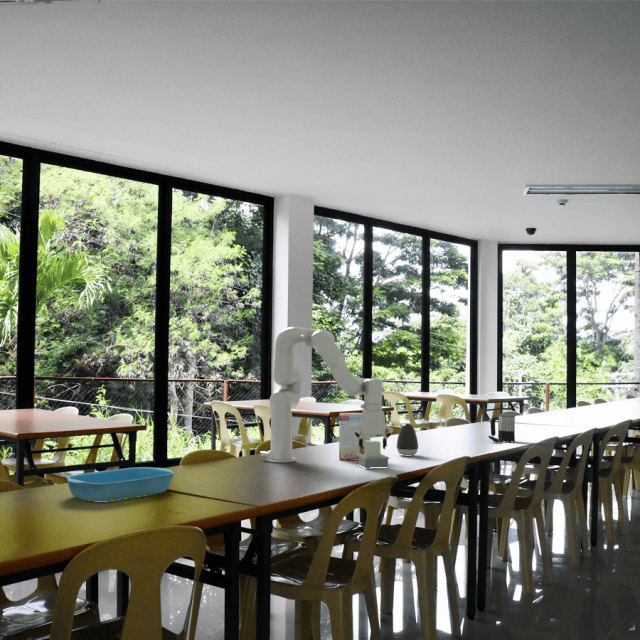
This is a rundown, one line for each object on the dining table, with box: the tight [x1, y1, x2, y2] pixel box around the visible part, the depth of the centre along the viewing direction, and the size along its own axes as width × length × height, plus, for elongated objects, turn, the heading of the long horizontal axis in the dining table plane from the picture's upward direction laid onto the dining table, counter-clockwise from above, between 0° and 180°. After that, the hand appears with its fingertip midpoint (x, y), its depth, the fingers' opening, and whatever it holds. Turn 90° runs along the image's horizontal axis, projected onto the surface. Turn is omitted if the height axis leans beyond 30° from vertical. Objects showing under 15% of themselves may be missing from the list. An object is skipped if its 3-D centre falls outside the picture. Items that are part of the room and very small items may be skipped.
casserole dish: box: [66, 466, 175, 502], centre depth 228 cm, size 37×22×7 cm, turn 140°
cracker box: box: [338, 412, 371, 460], centre depth 309 cm, size 14×6×21 cm, turn 84°
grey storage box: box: [357, 453, 390, 468], centre depth 289 cm, size 11×11×5 cm
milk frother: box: [487, 413, 516, 443], centre depth 378 cm, size 14×16×15 cm
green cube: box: [365, 440, 381, 457], centre depth 289 cm, size 6×6×6 cm
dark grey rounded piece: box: [396, 422, 419, 456], centre depth 323 cm, size 10×10×15 cm
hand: (372, 448), depth 289 cm, fingers open, 9 cm apart
